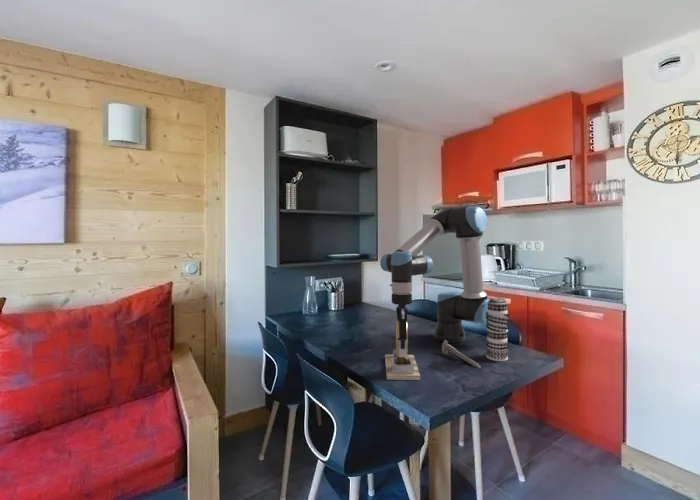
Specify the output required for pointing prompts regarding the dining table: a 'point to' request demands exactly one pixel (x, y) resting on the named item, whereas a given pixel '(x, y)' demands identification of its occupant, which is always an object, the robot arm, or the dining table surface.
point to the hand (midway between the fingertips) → (402, 354)
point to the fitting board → (401, 368)
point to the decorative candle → (497, 329)
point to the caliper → (457, 353)
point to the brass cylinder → (398, 359)
